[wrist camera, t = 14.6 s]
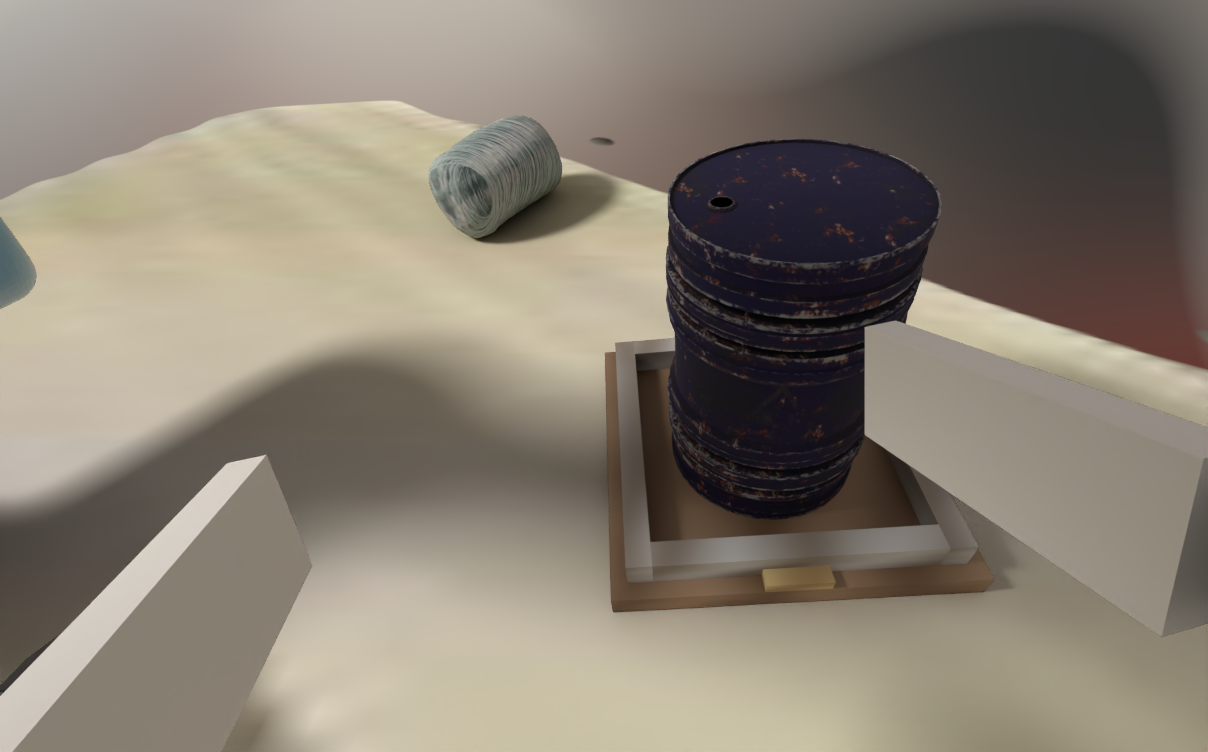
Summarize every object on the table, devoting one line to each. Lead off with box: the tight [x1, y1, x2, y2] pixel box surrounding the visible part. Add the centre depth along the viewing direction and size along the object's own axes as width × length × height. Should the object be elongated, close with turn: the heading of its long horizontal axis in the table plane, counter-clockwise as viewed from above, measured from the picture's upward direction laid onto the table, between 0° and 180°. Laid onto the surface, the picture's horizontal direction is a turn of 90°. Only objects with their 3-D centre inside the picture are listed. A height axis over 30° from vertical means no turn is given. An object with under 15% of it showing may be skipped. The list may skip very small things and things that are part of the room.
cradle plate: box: [605, 338, 994, 612], centre depth 31 cm, size 17×17×3 cm
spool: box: [429, 116, 562, 238], centre depth 54 cm, size 14×10×10 cm
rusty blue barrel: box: [666, 139, 942, 520], centre depth 26 cm, size 10×10×15 cm
